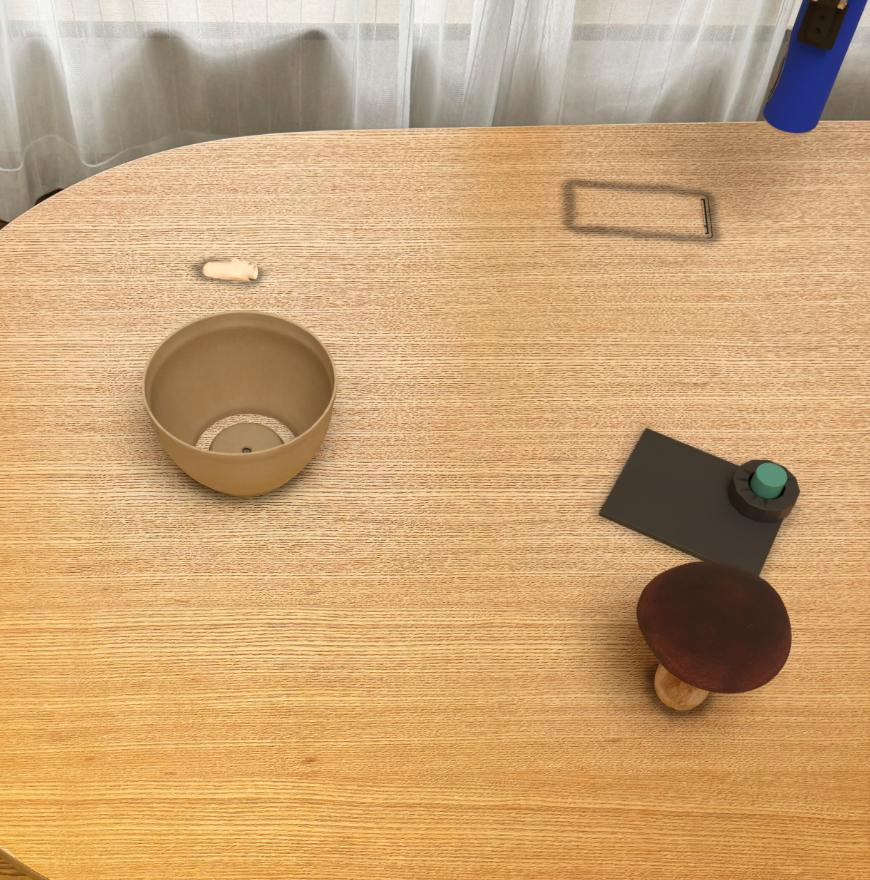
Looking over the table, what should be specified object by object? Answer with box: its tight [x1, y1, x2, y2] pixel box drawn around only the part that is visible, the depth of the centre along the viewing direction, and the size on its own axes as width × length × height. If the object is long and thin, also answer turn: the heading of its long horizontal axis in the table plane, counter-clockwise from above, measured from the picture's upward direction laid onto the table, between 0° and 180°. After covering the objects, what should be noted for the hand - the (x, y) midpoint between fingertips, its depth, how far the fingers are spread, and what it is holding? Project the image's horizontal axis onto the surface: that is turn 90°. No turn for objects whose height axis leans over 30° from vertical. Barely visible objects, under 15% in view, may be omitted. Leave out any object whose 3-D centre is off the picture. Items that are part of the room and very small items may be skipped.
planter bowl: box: [141, 309, 338, 498], centre depth 101 cm, size 16×16×11 cm
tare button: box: [750, 463, 787, 499], centre depth 100 cm, size 3×3×2 cm
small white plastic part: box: [202, 257, 259, 282], centre depth 118 cm, size 4×6×3 cm, turn 54°
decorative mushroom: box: [635, 560, 793, 711], centre depth 86 cm, size 11×11×15 cm
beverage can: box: [762, 0, 869, 137], centre depth 105 cm, size 5×5×15 cm
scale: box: [598, 427, 801, 577], centre depth 102 cm, size 14×11×4 cm
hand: (825, 26), depth 104 cm, fingers closed on beverage can, 5 cm apart
